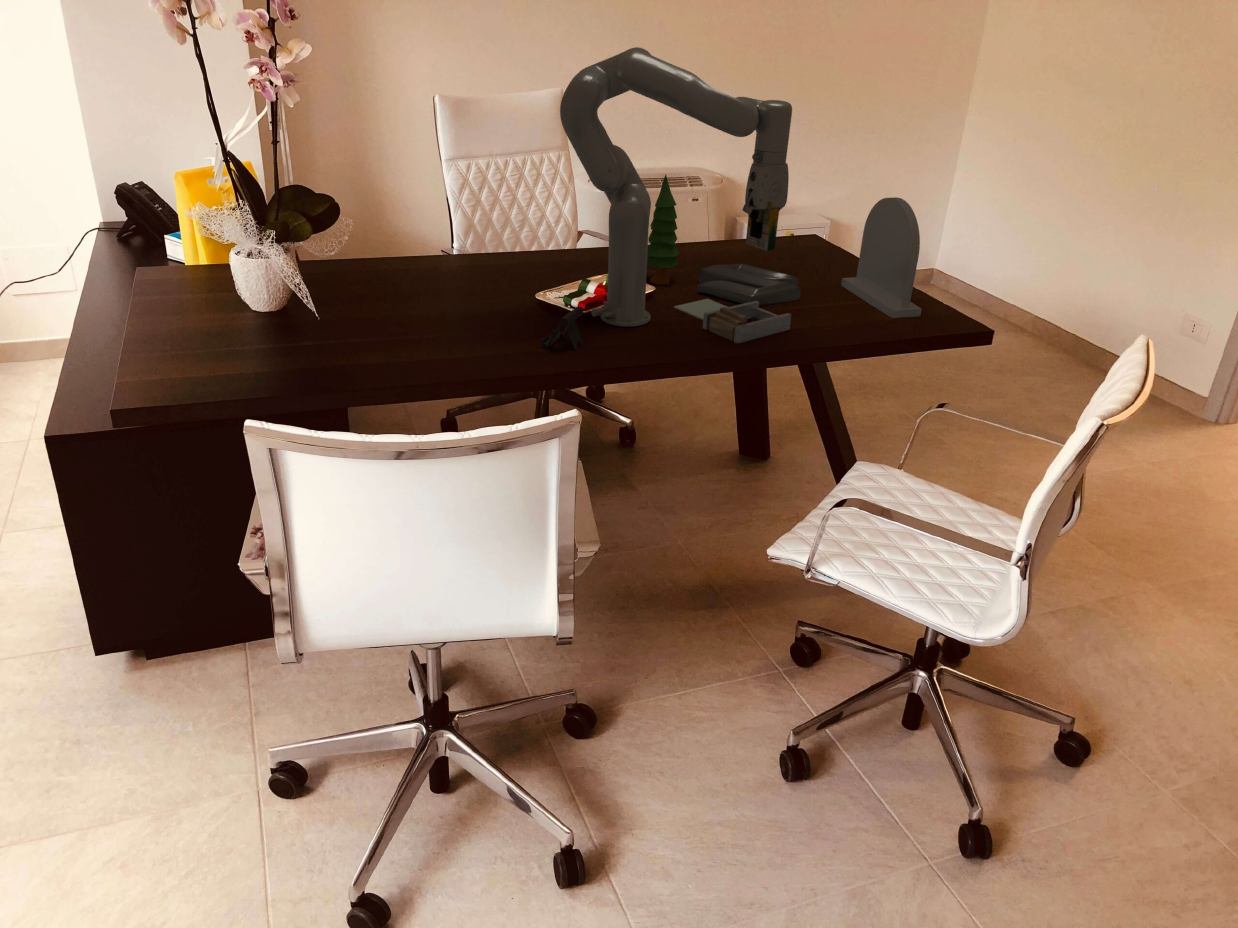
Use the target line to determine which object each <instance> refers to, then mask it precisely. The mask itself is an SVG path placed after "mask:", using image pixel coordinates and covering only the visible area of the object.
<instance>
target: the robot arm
mask: <svg viewBox="0 0 1238 928" xmlns="http://www.w3.org/2000/svg"><path fill="white" fill-rule="evenodd" d="M629 91H632V92H634V93H636V94H638V95H641V96H643V97H646V98H648V99H651V100H653V101H656V102H658V103H660V104H662V105H665V106H667V107H669V108H671V109H674V110H676V111H677V112H679V113H681V114H684V115H685V116H688V117H690V118H693V119H694V120H696V121H699V122H701V123H703V124H704V125H706V126H710V127H712V128H714V129H716V130H719V131H721V132H723V133H725V134H727V135H728V134H729V135H731V136H733V137H736V138H745V137H749V136H750V135H751V134H753V133H754V132H756V133H755V141H754V150H753V151H754V152H753V154H752V157H751V159H752V163H751V166H750V169H749V172H748V177H747V181H746V189H745V193H744V195H745V196H744V198H745V199H744V205H743V207H742V211H743V212H744V213H745V214H747V215H748V216H749V217H750V220H752V221H751V230H750V236H751V237H754V238H757V239H760V238H761V233H762V225H763V222H761V218H762V213H763V210H765V209H768V208H769V203H770V202H772V208H778V209H779V212H780V211H781V210H782V209H784V208H785V206H786V205H787V202H788V194H789V182H790V181H789V165H788V163H787V158H788V157H787V155H788V149H789V148H788V146H789V140H790V134H791V133H790V132H791V123H792V116H793V115H792V114H793V106H792V104H791V103H790V102H788V101H786V100H785V101H784V100H777V99H766V100H763V99H757V98H751V97H748V96H736V97H735V96H731V95H729V94H726V93H724V92H722V91H721V90H719V89H716V88H714V87H712V86H711V85H709V84H707V83H706V82H704V80H702V79H701V78H700V77H699V76H698V75H696V74H694V73H693V72H691V71H689V70H686V69H684V68H682V67H679V66H676V65H674V64H672V63H670V62H667V61H665V60H663V59H661V58H659V57H656V56H654V55H652V53H650V51H648V50H647V49H645V48H642V47H640V46H639V47H638V46H637V47H631V48H629V49H627V50H625V51H622V52H620V53H618V54H615V55H613V56H610V57H607V58H606V59H604V60H601V61H598V62H596V63H594V64H591V65H588V66H586V67H585V68H582V69H581V70H580V71H579V72H578V73H576V74H575V75H574V77H573V78H572V79H571V80H570V82H569V84H568V85H567V87H566V89H565V91H564V92H563V95H562V97H561V100H560V105H559V106H560V107H559V115H560V116H559V118H560V121H561V125H562V127H563V130H564V132H565V135H566V137H567V139H568V140H569V142H570V145H571V147H572V148H573V149H574V152H575V153H576V156H577V157H578V159H579V162H580V163H581V164H582V167H583V168H584V170H585V172H586V174H587V176H588V178H589V180H590V182H591V184H592V185H593V187H595V188H596V189H597V190H599V191H600V192H604V194H605V196H606V198H607V200H608V201H609V202H610V205H609V207H610V208H609V212H608V263H607V264H608V265H607V268H608V269H607V271H608V273H607V300H606V301H603V305H601V307H596V308H592V309H591V310H590V311H591V312H590V313H591V316H592V317H594V318H595V317H599V316H600V319H601V320H602V321H603V322H604V323H606V324H608V325H610V326H611V325H612V326H617V327H628V328H629V327H639V326H643V325H646V324H648V323H649V322H650V321H651V313H650V312H649V311H647V310H646V294H647V292H646V291H647V271H648V265H647V257H648V256H647V252H648V247H649V239H648V238H649V228H650V227H649V226H650V217H651V216H650V215H651V208H652V199H651V196H650V193H649V192H648V189H647V188H646V186H645V184H644V182H643V180H642V179H641V177H640V175H639V172H637V169H636V168H635V166H634V164H633V162H632V160H631V157H630V156H629V155H628V154H627V152H626V151H625V150H624V149H623V148H622V147H621V146H618V145H616V144H614V143H613V141H612V140H611V137H610V136H609V134H608V132H607V130H606V128H605V127H604V125H603V123H602V122H601V120H600V119H599V115H598V110H599V108H600V106H602V104H603V103H604V102H605V101H607V100H610V99H613V98H616V97H617V96H620V95H622V94H624V93H627V92H629ZM772 208H771V209H772ZM756 210H757V211H758V212H757V213H756Z"/></svg>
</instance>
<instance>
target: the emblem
mask: <svg viewBox="0 0 1238 928" xmlns="http://www.w3.org/2000/svg"><path fill="white" fill-rule="evenodd" d="M697 281H698V283H699V284H698V285H696V286H697V287H696V289H697V291H698V292H700V293H703V294H707V295H710V296H713V297H717V298H720V299H723V300H727V301H731V302H734V303H737V304H739V305H740V304H744V303H748V302H753V301H758V302H759V307H761V306H768V305H776V304H781V303H783V304H784V303H789V302H796V301H799V300H800V297H801V287H800V286H798V284H799V283H798V282H799V281H798V279H797V277H795V276H793V275H791V274H788V273H784V272H779V271H776V270H770V269H767V268H766V269H765V268H761V267H757V266H753V265H749V264H745V263H733V264H729V263H728V264H714V265H713V264H712V265H710V266H706V267H703V268H700V269H699V271H698V275H697Z"/></svg>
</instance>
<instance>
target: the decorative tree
mask: <svg viewBox="0 0 1238 928" xmlns="http://www.w3.org/2000/svg"><path fill="white" fill-rule="evenodd" d="M670 187H671V186H670V184H669V179H668V177H667V174H665V175H664V178H663V181H662V183H661V186H660V191H659V194H658V197H657V200H656V202H655V205H654V207H655V209H654V211H653V218H652V221H651V223H650V224H649V226H650V230H651V232H650V234H649V235H648V252H647V266H649V267H654V268H655V272H654V274H653V275H652V276H651V278H650V279H649V281H650V282H651V283H652V284H655V285H670V283H671V279H670V276H669V273H668V268H674V267H675V266H677V265H678V264H679V262H678V260H677V256H680V252H679V250H678V248H677V245H676V242H677V240H678V237H677V234H676V230H678V225H677V221H676V219H678V215H677V212H676V208H675V206H677V202H676V201H675V199H674V196H673V193H672V189H671V188H670Z"/></svg>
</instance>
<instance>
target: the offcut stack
mask: <svg viewBox="0 0 1238 928" xmlns="http://www.w3.org/2000/svg"><path fill="white" fill-rule="evenodd" d="M747 323H748V319H747V316H746V315H743V314H741V313H738V312H736V311H733V310H731V309H728V308H726V307H722V308H720V312H717V313H715V317H712V318H710V329H708V330H709V332H711V333H713V334H714V335H718V336H720V337H722V338H724V339H727V340H728V339H729V341H731V342H732V341H733V342H734V335H735V326H739V325H743V324H747Z"/></svg>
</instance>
